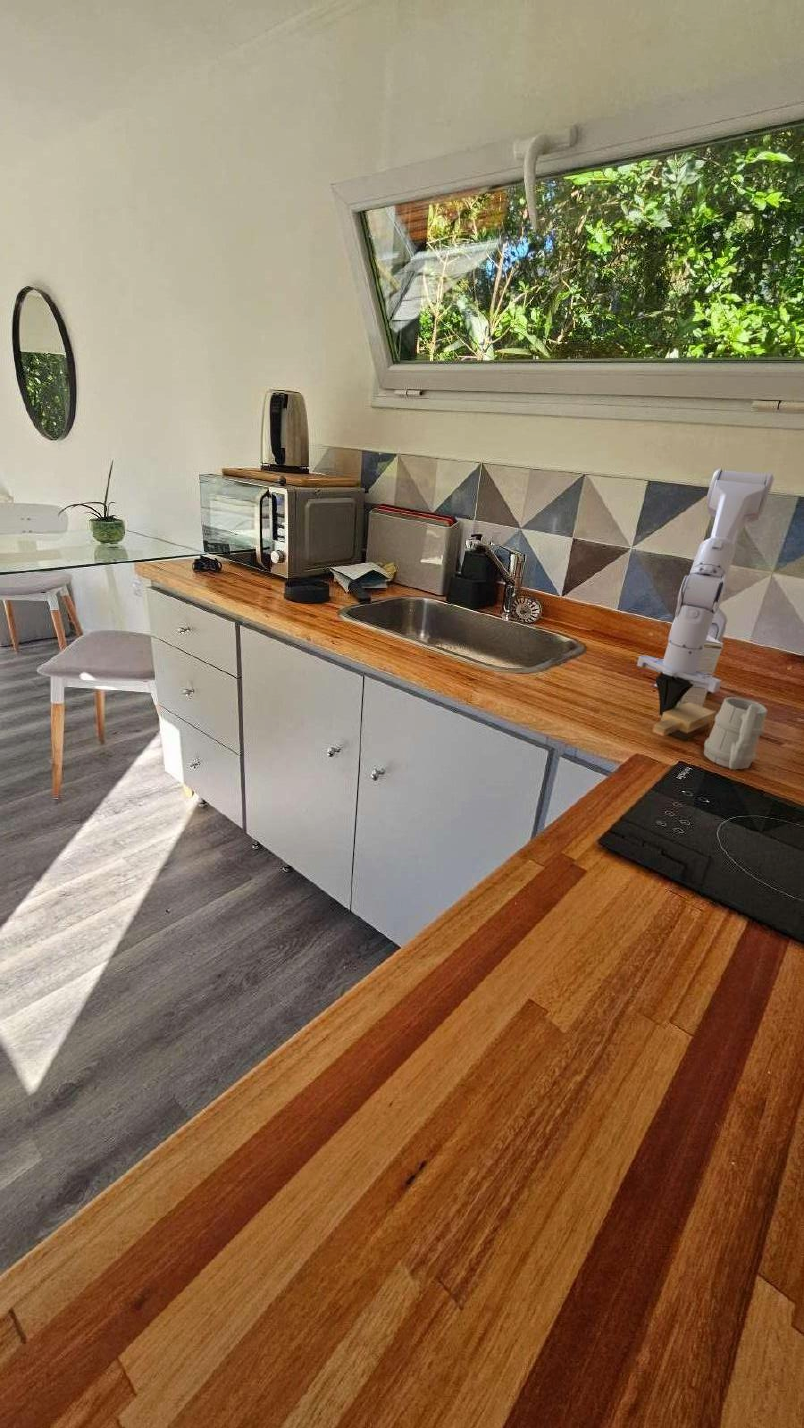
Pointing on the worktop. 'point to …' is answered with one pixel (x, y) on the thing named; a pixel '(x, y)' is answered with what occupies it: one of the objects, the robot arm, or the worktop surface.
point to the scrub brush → (684, 721)
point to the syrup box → (705, 666)
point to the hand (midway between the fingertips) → (664, 714)
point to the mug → (735, 733)
